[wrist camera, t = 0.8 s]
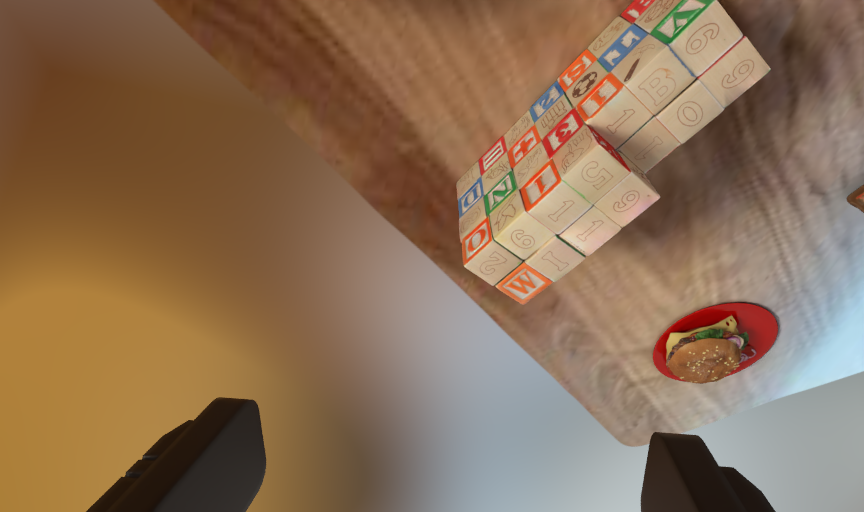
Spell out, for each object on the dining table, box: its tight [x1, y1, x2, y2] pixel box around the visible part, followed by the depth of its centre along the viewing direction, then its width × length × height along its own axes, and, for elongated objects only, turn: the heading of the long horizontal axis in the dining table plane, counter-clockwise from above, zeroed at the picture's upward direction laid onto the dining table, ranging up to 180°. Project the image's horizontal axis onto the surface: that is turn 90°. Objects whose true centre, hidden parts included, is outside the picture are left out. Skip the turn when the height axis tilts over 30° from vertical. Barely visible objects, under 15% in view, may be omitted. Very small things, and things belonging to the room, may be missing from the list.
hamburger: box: [653, 303, 778, 383], centre depth 53 cm, size 14×14×6 cm
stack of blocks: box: [456, 0, 771, 304], centre depth 34 cm, size 21×6×12 cm, turn 141°
